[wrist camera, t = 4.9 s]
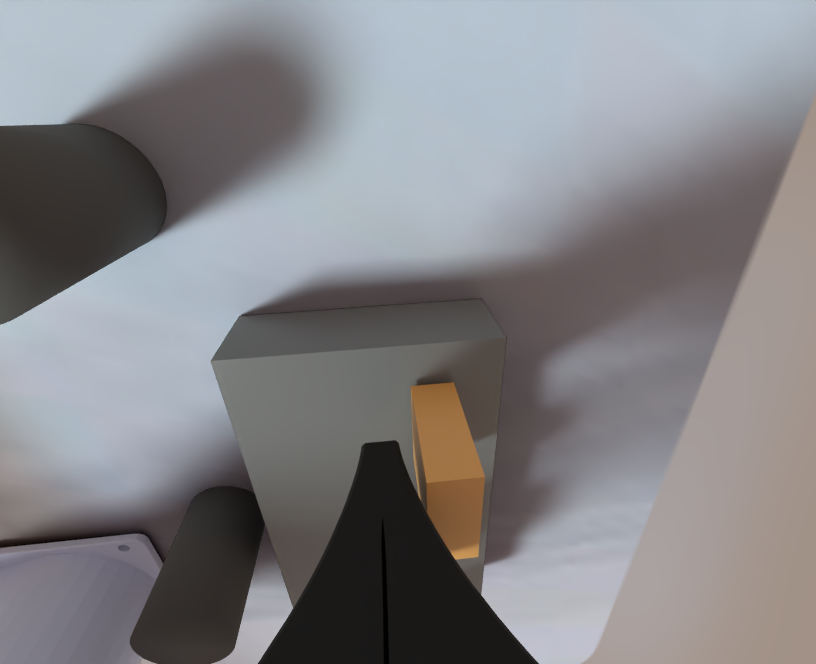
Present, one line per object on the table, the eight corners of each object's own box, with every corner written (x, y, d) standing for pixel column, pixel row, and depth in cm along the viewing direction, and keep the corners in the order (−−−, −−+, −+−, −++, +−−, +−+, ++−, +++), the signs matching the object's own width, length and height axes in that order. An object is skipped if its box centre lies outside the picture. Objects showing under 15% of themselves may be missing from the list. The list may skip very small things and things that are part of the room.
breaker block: (314, 590, 23) (296, 754, 17) (239, 316, 14) (148, 458, 8) (465, 572, 24) (498, 725, 18) (481, 298, 15) (558, 419, 9)
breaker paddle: (413, 457, 14) (427, 562, 11) (410, 386, 13) (426, 482, 9) (452, 454, 14) (478, 556, 11) (453, 382, 13) (485, 477, 9)
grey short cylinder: (202, 538, 20) (150, 672, 15) (179, 490, 18) (112, 625, 13) (273, 530, 20) (245, 660, 15) (258, 483, 18) (221, 611, 14)
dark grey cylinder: (67, 252, 13) (-115, 334, 8) (7, 126, 11) (-272, 134, 6) (182, 245, 13) (73, 321, 8) (142, 121, 11) (-28, 124, 6)
